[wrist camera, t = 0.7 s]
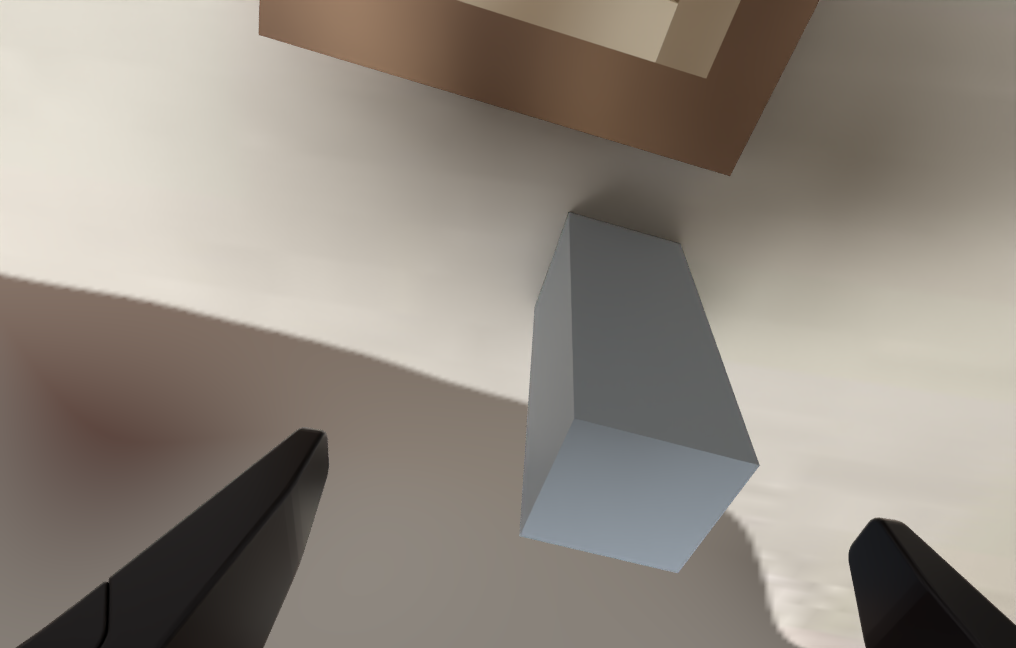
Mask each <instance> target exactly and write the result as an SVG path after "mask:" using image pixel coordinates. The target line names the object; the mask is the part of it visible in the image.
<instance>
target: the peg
mask: <svg viewBox="0 0 1016 648" xmlns="http://www.w3.org/2000/svg"><path fill="white" fill-rule="evenodd" d="M526 433H527V434H526V446H525V462H524V477H523V491H522V492H523V493H522V507H521V522H520V536H521V537H525V538H530V539H534V540H538V541H543V542H547V543H551V544H555V545H560V546H564V547H568V548H573V549H577V550H581V551H585V552H590V553H594V554H598V555H603V556H607V557H611V558H615V559H620V560H624V561H628V562H633V563H637V564H641V565H645V566H650V567H654V568H659V569H662V570H667V571H671V572H675V573H678V572H679V571H680V570H681V568H682V567H683V565H684V564H685V563H686V562H687V560H688V559H689V558H690V556H691V555H692V554H693V552H694V551H695V550H696V548H697V547H698V546H699V544H700V543H701V542H702V541H703V539H704V538H705V537H706V535H707V534H708V533H709V531H710V530H711V529H712V527H713V526H714V525H715V523H716V522H717V521H718V520H719V518H720V517H721V515H722V514H723V513H724V512H725V510H726V509H727V508H728V506H729V505H730V504H731V502H732V501H733V500H734V498H735V497H736V496H737V494H738V493H739V492H740V491H741V489H742V488H743V487H744V485H745V484H746V483H747V481H748V480H749V479H750V477H751V476H752V475H753V473H754V472H755V471H756V469H757V468H758V467H759V466H760V465H759V462H758V460H757V457H756V454H755V451H754V448H753V446H752V443H751V440H750V437H749V434H748V432H747V429H746V426H745V423H744V420H743V418H742V415H741V412H740V409H739V406H738V404H737V401H736V398H735V395H734V392H733V390H732V387H731V384H730V381H729V378H728V376H727V373H726V370H725V367H724V364H723V362H722V359H721V356H720V353H719V350H718V348H717V345H716V342H715V339H714V336H713V334H712V331H711V328H710V325H709V322H708V320H707V317H706V314H705V311H704V308H703V306H702V303H701V300H700V297H699V294H698V292H697V289H696V286H695V283H694V280H693V278H692V275H691V272H690V269H689V266H688V264H687V261H686V258H685V255H684V252H683V250H682V247H681V244H679V243H675V242H672V241H668V240H665V239H661V238H658V237H654V236H651V235H647V234H644V233H640V232H637V231H633V230H630V229H626V228H623V227H620V226H616V225H613V224H609V223H606V222H602V221H599V220H595V219H592V218H588V217H585V216H581V215H578V214H574V213H571V212H569V213H568V216H567V219H566V222H565V224H564V227H563V230H562V233H561V236H560V238H559V241H558V244H557V247H556V249H555V252H554V255H553V258H552V261H551V263H550V266H549V269H548V272H547V275H546V277H545V280H544V283H543V286H542V288H541V291H540V294H539V297H538V300H537V302H536V305H535V311H534V326H533V341H532V356H531V371H530V386H529V401H528V416H527V432H526Z"/></svg>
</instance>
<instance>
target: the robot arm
mask: <svg viewBox="0 0 1016 648" xmlns="http://www.w3.org/2000/svg"><path fill="white" fill-rule="evenodd" d="M327 440H328V439H327V434H326V432H325V431H323V430H319V429H313V428H306V427H302V428H299V429H298V430H296V431H295V432H294V433H292V434H291V435H290V436H288V437H287V438H286V439H285V440H283V441H282V442H281V443H280V444H278V445H277V446H276V447H275V448H273V449H272V450H271V451H269V452H268V453H267V454H266V455H264V456H263V457H262V458H261V459H259V460H258V461H257V462H256V463H254V464H253V465H252V466H250V467H249V468H248V469H247V470H245V471H244V472H243V473H241V474H240V475H239V476H238V477H237V478H235V479H234V480H233V481H231V483H229V484H228V485H226V486H225V487H224V488H222V489H221V490H220V491H219V492H217V493H216V494H215V495H214V496H212V497H211V498H210V499H208V500H207V501H206V502H205V503H203V504H202V505H201V506H200V507H198V508H197V509H196V510H195V511H193V512H192V513H191V514H190V515H188V516H187V517H186V518H184V519H183V520H182V521H181V522H179V523H178V524H177V525H176V526H174V527H173V528H172V529H171V530H169V531H168V532H167V533H165V534H164V535H163V536H162V537H160V538H159V539H158V540H156V541H155V542H154V543H153V544H151V545H150V546H149V547H148V548H146V549H145V550H144V551H143V552H141V553H140V554H139V555H137V556H136V557H135V558H134V559H132V560H131V561H130V562H129V563H127V564H126V565H125V566H123V567H122V568H121V569H120V570H118V571H117V572H116V573H115V574H113V575H112V576H111V577H110V578H109V583H108V582H103V583H102V584H100V585H99V586H98V587H96V588H95V589H94V590H93V591H91V592H90V593H89V594H88V595H86V596H85V597H84V598H83V599H81V600H80V601H79V602H77V603H76V604H75V605H73V606H72V607H71V608H70V609H68V610H67V611H65V612H64V613H63V614H61V615H60V616H59V617H57V618H56V619H55V620H54V621H52V622H51V623H50V624H48V625H47V626H46V627H44V628H43V629H42V630H40V631H39V632H38V633H36V634H35V635H34V636H32V637H30V638H29V639H28V640H26V641H25V642H23V643H22V644H20V645H19V646H17V647H16V648H263V647H264V645H265V643H266V640H267V638H268V636H269V634H270V632H271V629H272V627H273V625H274V622H275V620H276V618H277V616H278V613H279V611H280V609H281V607H282V604H283V602H284V600H285V597H286V595H287V593H288V591H289V588H290V586H291V584H292V582H293V579H294V577H295V575H296V572H297V570H298V567H299V564H300V561H301V558H302V555H303V553H304V550H305V546H306V543H307V540H308V537H309V534H310V530H311V527H312V524H313V521H314V518H315V514H316V511H317V508H318V504H319V501H320V498H321V495H322V492H323V489H324V485H325V482H326V479H327V475H328V469H329V457H328V441H327ZM849 566H850V571H851V576H852V581H853V586H854V591H855V596H856V602H857V607H858V612H859V617H860V622H861V627H862V632H863V638H864V642H865V646H866V648H1016V625H1015V624H1014V623H1013V622H1012V621H1011V620H1010V619H1009V618H1007V617H1006V616H1005V615H1004V614H1003V613H1002V612H1001V611H1000V610H999V609H998V608H996V607H995V606H994V605H993V604H992V603H991V602H990V601H989V600H988V599H987V598H986V597H984V596H983V595H982V594H981V593H980V592H979V591H978V590H977V589H976V588H975V587H973V586H972V585H971V584H970V583H969V582H968V581H967V580H966V579H965V578H964V577H963V576H961V575H960V574H959V573H958V572H957V571H956V570H955V569H954V568H953V567H952V566H950V565H949V564H948V563H947V562H946V561H945V560H944V559H943V558H942V557H941V556H940V555H938V554H937V553H936V552H935V551H934V550H933V549H932V548H931V547H930V546H929V545H927V544H926V543H925V542H924V541H923V540H922V539H921V538H920V537H919V536H918V535H917V534H915V533H914V532H913V531H912V530H911V529H910V528H909V527H908V526H907V525H905V524H904V523H902V522H900V521H897V520H891V519H885V518H874V519H872V520H870V521H869V523H868V524H867V525H866V526H865V528H864V529H863V530H862V532H861V533H860V534H859V536H858V537H857V538H856V540H855V541H854V542H853V543H852V545H851V547H850V550H849Z"/></svg>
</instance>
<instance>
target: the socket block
mask: <svg viewBox="0 0 1016 648" xmlns="http://www.w3.org/2000/svg"><path fill="white" fill-rule="evenodd" d="M818 2H819V0H260V6H259V35H261V36H265V37H268V38H271V39H275V40H278V41H281V42H285V43H288V44H291V45H295V46H298V47H301V48H305V49H308V50H311V51H315V52H318V53H321V54H325V55H328V56H331V57H335V58H338V59H341V60H345V61H348V62H351V63H355V64H358V65H361V66H365V67H368V68H371V69H375V70H378V71H381V72H385V73H388V74H391V75H395V76H398V77H401V78H405V79H408V80H411V81H415V82H418V83H421V84H425V85H428V86H431V87H435V88H438V89H441V90H445V91H448V92H451V93H455V94H458V95H461V96H465V97H468V98H471V99H475V100H478V101H481V102H485V103H488V104H491V105H495V106H498V107H501V108H505V109H508V110H511V111H515V112H518V113H521V114H525V115H528V116H531V117H535V118H538V119H541V120H545V121H548V122H551V123H555V124H558V125H561V126H565V127H568V128H571V129H575V130H578V131H581V132H585V133H588V134H591V135H595V136H598V137H601V138H605V139H608V140H611V141H615V142H618V143H621V144H625V145H628V146H631V147H635V148H638V149H641V150H645V151H648V152H651V153H655V154H658V155H661V156H665V157H668V158H671V159H675V160H678V161H681V162H685V163H688V164H691V165H695V166H698V167H701V168H705V169H708V170H711V171H715V172H718V173H721V174H725V175H728V176H730V175H731V173H732V171H733V169H734V167H735V165H736V163H737V161H738V159H739V157H740V155H741V153H742V151H743V149H744V147H745V146H746V144H747V142H748V140H749V138H750V136H751V134H752V132H753V130H754V128H755V126H756V124H757V122H758V120H759V118H760V116H761V114H762V112H763V110H764V108H765V106H766V104H767V102H768V100H769V98H770V96H771V94H772V92H773V90H774V88H775V87H776V85H777V83H778V81H779V79H780V77H781V75H782V73H783V71H784V69H785V67H786V65H787V63H788V61H789V59H790V57H791V55H792V53H793V51H794V49H795V47H796V45H797V43H798V41H799V39H800V37H801V35H802V33H803V31H804V29H805V27H806V26H807V24H808V22H809V20H810V18H811V16H812V14H813V12H814V10H815V8H816V6H817V4H818Z"/></svg>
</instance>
